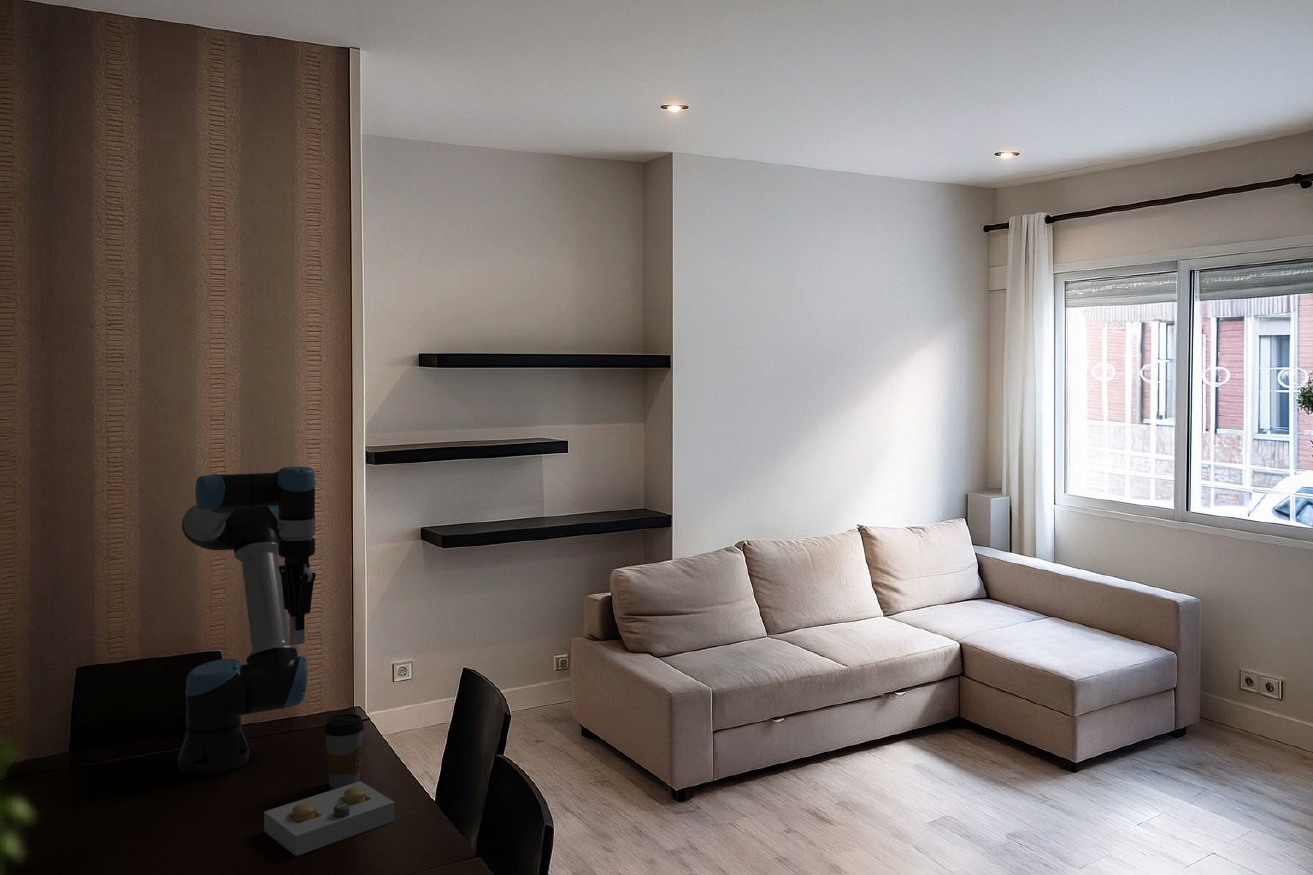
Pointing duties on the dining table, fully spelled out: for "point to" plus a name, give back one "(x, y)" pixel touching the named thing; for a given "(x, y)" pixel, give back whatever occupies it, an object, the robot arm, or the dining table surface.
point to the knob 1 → (304, 812)
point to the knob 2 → (354, 795)
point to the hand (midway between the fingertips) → (297, 643)
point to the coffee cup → (344, 749)
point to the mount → (328, 819)
